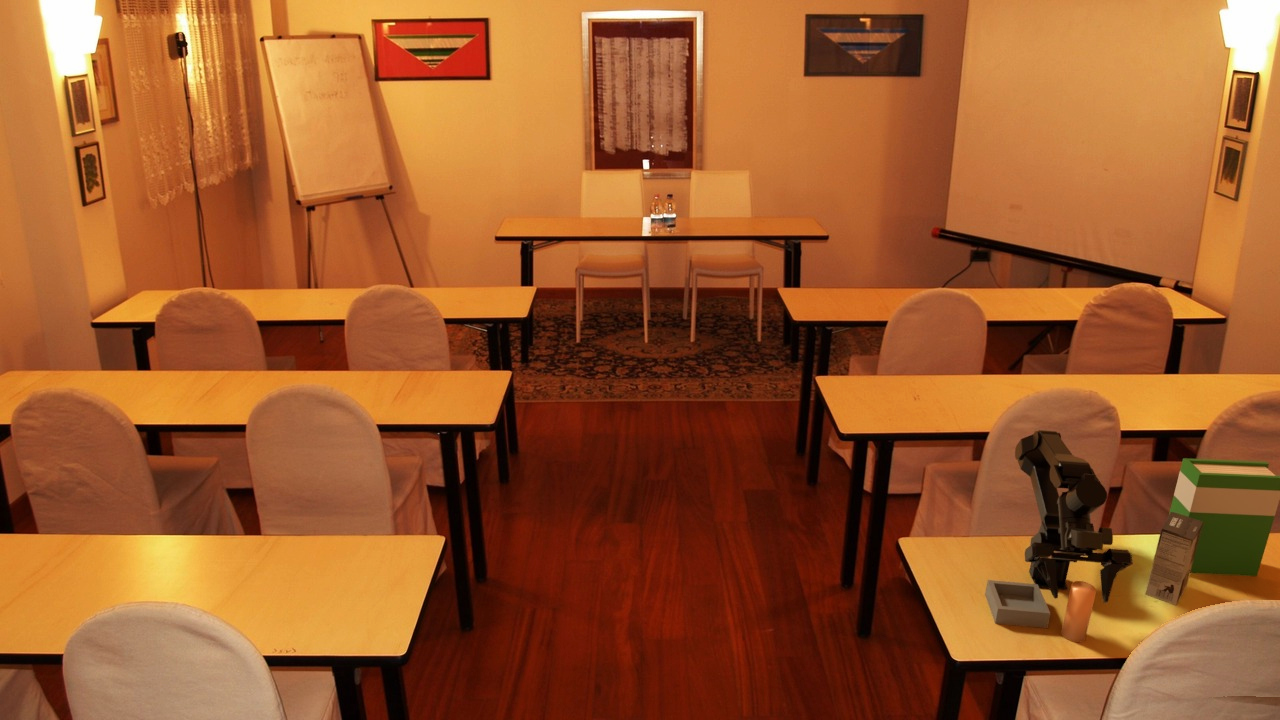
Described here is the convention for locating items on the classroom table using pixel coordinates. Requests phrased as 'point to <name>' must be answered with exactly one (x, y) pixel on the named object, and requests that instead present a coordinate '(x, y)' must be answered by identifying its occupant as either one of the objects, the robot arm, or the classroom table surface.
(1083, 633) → the orange cylinder
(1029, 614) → the tray
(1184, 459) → the hardback book
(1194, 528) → the coffee box
